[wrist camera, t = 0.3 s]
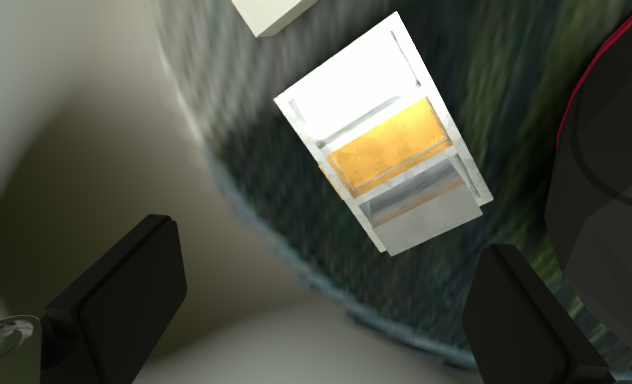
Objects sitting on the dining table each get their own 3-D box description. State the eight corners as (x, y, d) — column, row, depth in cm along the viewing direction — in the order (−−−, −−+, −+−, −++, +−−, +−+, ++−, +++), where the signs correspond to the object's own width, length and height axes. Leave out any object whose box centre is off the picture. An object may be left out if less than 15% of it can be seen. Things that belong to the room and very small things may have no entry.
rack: (277, 95, 37) (261, 109, 30) (392, 13, 32) (403, 8, 26) (377, 239, 44) (382, 277, 37) (484, 188, 39) (511, 220, 33)
